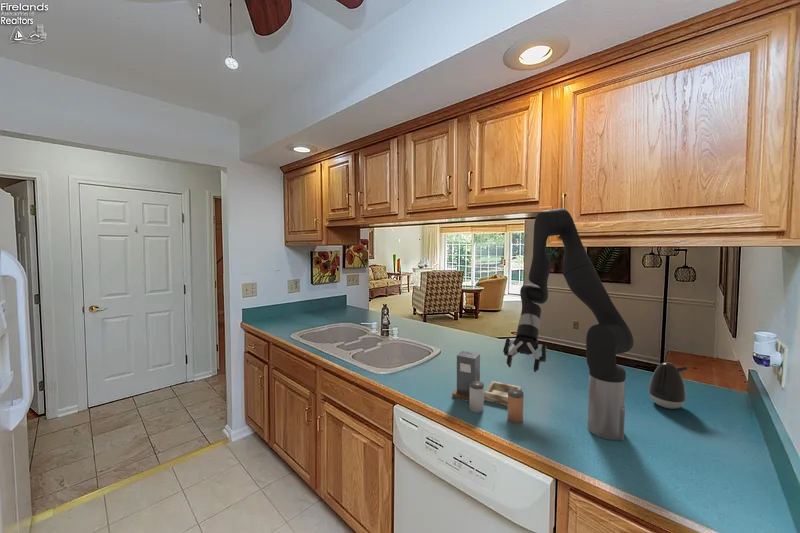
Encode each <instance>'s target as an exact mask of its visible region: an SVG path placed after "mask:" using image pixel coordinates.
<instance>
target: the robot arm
mask: <svg viewBox="0 0 800 533" xmlns="http://www.w3.org/2000/svg"><path fill="white" fill-rule="evenodd" d="M554 236H559V237H560V240H561V241H562V244H563V246H564V253H563V259H562V265H561V272H562V274H563V277H564V279H565V282H566V284H567V286H568V288H569V289H570V291H571V292H572V293H573V294H574V296H575V297H577V298H578V299H579V300H580V301H581V302H582V303H583V304H585V306H587V308H588V309H589V310H590V311H591V313H593V315H594V318H596V321H597V324H593V325H592V326H590V327H589V328H588V330H587V332H586V338H585V344H586V345H585V346H586V347H585V349H586V350H585V351H586V354H585V355H586V364H587V366H588V369H589V370H588V372H589V373H588V376H589V377H588V397H587V398H588V399H587V401H588V403H587V421H586V422H587V429H588V431H589V432H590V433H592V434H593V435H594V436H596V437H599V438H602V439H606V440H610V441H611V440H614V441H617V440H620V441H624V440H625V419H626V417H625V416H626V407H625V403H626V402H625V400H626V399H625V398H626V396H625V395H626V379H627V378H626V376H627V374H626V370H625V369H624V367H622V366H620V365H618V364H617V355H619V354H625V353H628V352H629V351H631V350H632V348H633V346H634V336H633V334H632V331H631V329H630V328H629V326H628V324H627V323H626V322H625V320H624V318H623V317H622V315H621V313H620V312H619V310H618V309H617V308H616V306H615V305H614V303H613V301H612V299H611V297H610V295H609V294H608V292H607V290H606V288H605V286H604V284H603V283H602V281H601V278H600V276H599V274H598V272H597V269H596V267H595V265H594V263H593V262H592V260H591V258H590V257H589V255H588V253H587V251H586V249H585V246H584V244H583V242H582V240H581V237H580V234H579V232H578V229H577V226H576V224H575V222H574V219H573V217H572V215H571V213H570V212H569V211H568V210H567V209H565V208H555V209H547V210H541V211H539V212H538V213H537V214H536V216H535V219H534V224H533V241H532V258H531V264H530V267H529V268H530V269H529V274H528V281H529V282H530V283H524V284H523V285H522V286H521V287H520V292H519V293H520V300H521V311H520V317H519V320H518V325H517V329H516V330H517V331H516V335H515V339H514V340H512V339H510V338H508V337H507V338H506V339H505V343H504V346H503V350H502V351H503V352H502V353H503V355H504V356H506V357H507V358H506V365H507V366H508V368H511V367H512V362H513V358H514V357H515V356H517V355H518V354H521V355H527V356H530V355H531V356H532V357H533V359H534V362H533V363H534V364H533V373H537V371H539V369H540V363H542V362H543V363H545V362H546V361H547V344H546V343H545V342H544V343H542V344H539V343H538V342H539V341H538V340H539V334H540V329H541V328H540V324H541V323H540V321H541V315H542V308H541V307H540V305H543V304H545V303H546V302H547V301H548V300H549V290H548V289H549V288H548V280H549V276H550V272H551V269H552V261H551V257H550V255H549V253H548V251H547V246H546V244H547V241H548V238H549V237H554ZM512 345H513V347H512V348H511V349H510V347H511V346H512ZM537 349H539V350H540V351H541V356H539V355H538V353H537Z"/></svg>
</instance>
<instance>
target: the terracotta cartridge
mask: <svg viewBox="0 0 800 533" xmlns="http://www.w3.org/2000/svg"><path fill="white" fill-rule="evenodd" d="M524 396H525V395H524V391H522V390H518V389H510V390H508V406H507V420H508V421H509V420H510V421H509V422H511V423H514V422H515V424H521V423H523V422H524Z"/></svg>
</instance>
